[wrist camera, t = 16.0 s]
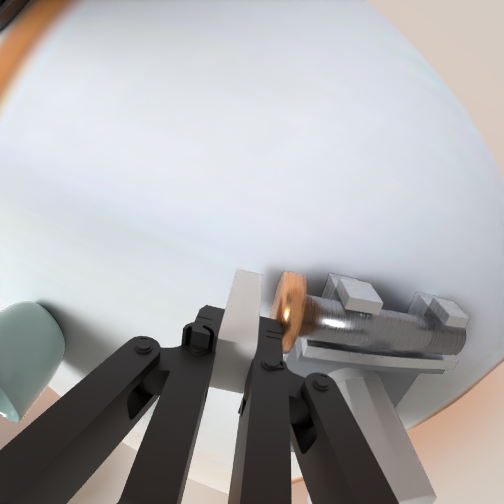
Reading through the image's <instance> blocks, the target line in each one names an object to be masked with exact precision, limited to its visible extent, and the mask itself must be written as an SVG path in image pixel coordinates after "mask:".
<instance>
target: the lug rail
mask: <svg viewBox="0 0 504 504" xmlns="http://www.w3.org/2000/svg"><path fill="white" fill-rule="evenodd" d="M321 297H322V298H327V299H332V300H337V301H342V303H343V305H344V308H345V309H349V310H354V311H360V312H365V313H371V314H377V315H379V313H380V310H381V308H382V306H383V304H384V303H383V302H382V300H381V299H380V297H379V296H378V294H377V293H376V291H375V290H374V288H373V287H372V285H371V284H370V283H367V282H362V281H358V279H355V278H351V277H346V276H342V275H337V274H333V273H329V275H328V278H327V281H326V284H325V287H324V290H323V293H322V296H321ZM407 313H408V314H414V315H419V316H425V317H432V318H438V319H440V320H441V321H442V322H443V324H444V325H447V326H454V327H461V328H465V327H466V325H467V323H468V321H469V319H470V318H469V317H468V316H467V315H466V314H465V313H464V312H463V311H462V310H461V309H460V308H459V307H458V306H457V305H456V304H455V303H454V302H453V301H451V300H446V299H441V298H437V297H436V296H434V295H429V294H424V293H420V292H416V293H415V296H414V298H413V300H412V302H411V305H410V307H409V309H408V311H407ZM301 343H302V351H303V356H304V357H310V358H317V359H324V360H332V361H340V362H348V363H357V364H366V365H377V366H389V367H403V368H421V369H454V367H455V366H456V364H457V363H458V360H457V358H456V357H455V355H454V356H450V355H434V354H421V353H410V352H399V351H389V350H380V349H372V348H364V347H356V346H349V345H342V344H335V343H328V342H322V341H316V340H310V339H304V338H301Z"/></svg>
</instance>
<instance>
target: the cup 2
mask: <svg viewBox="0 0 504 504" xmlns="http://www.w3.org/2000/svg"><path fill="white" fill-rule="evenodd" d="M327 375H328V376H330V377H331V378H333V380H334V381H335V382H336V384H337V386H338V387H339V389H340V391H341V393H342V395H343V397H344V399H345V401H346V402H347V404H348V406H349V408H350V410H351V412H352V414H353V416H354V418H355V419H356V421H357V423H358V425H359V427H360V429H361V431H362V433H363V435H364V437H365V438H366V440H367V442H368V444H369V446H370V448H371V450H372V452H373V454H374V456H375V458H376V459H377V461H378V463H379V465H380V467H381V469H382V471H383V473H384V475H385V477H386V479H387V481H388V483H389V485H390V487H391V489H392V490H393V492H394V494H395V496H396V498H397V500H398V502H399V504H432V503H434V501H435V500H436V495H435V492H434V490H433V488H432V486H431V484H430V481H429V479H428V477H427V475H426V473H425V471H424V469H423V466H422V464H421V462H420V460H419V458H418V456H417V454H416V452H415V449H414V447H413V445H412V443H411V441H410V439H409V437H408V435H407V432H406V430H405V428H404V426H403V424H402V422H401V420H400V418H399V416H398V414H397V412H396V410H395V408H394V406H393V404H392V402H391V400H390V398H389V396H388V394H387V392H386V390H385V388H384V386H383V383H382V381H381V378H380V376H379V375H378V374H377V373H376V372H375V371H374V370H364V369H354V368H342V369H339V370H336V371H333V372H331V373H329V374H327ZM307 504H312V502H311V499H310V496H309V493H308V495H307Z"/></svg>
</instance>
